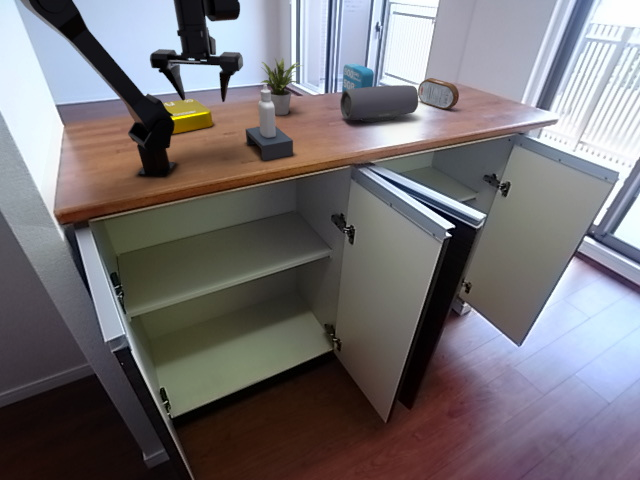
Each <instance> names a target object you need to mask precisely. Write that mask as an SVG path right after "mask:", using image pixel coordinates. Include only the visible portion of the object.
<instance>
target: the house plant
mask: <svg viewBox="0 0 640 480" xmlns="http://www.w3.org/2000/svg"><path fill="white" fill-rule="evenodd" d="M274 61H275V64H276V67H274V69H273V70H272V69H271V68H270V67H269V66H268V65H267V64H266V63H265V62H264V61H261V64H263V65H264V67H265V68H263V67H261V69H262V70H264V72H265V73H266V74H267V76H268V79H264V80H261V82H260V84H264V83H265V84H267V85H269V87H270V88H271V89H270V91H271V101H272V102H273V104H274V108H275V116H285V115H288V114H289V111H290V105H291V96H292V91H290V90H289V89H286V87H287V86H288V85H289V84H291V83H293V84H295V83H297V84H299V81H298V80H293V78H292V77H293V76H294V74H293V73H296V72H299V71H298V70H294V69H295V68H297V67H303V66H304V65H301V64H300V65H297V64H299V63H300V61H298V62H295V63H293V64H291V66H290V67H289V68H288V69H286V70H285V62H284V57H281V60H280V61H279V63H278V60H277V58H276V57H274ZM293 70H294V71H293ZM292 74H293V75H292ZM291 78H292V79H291Z"/></svg>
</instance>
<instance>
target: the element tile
mask: <svg viewBox="0 0 640 480" xmlns="http://www.w3.org/2000/svg"><path fill="white" fill-rule="evenodd" d="M162 103H163V104H164V106H165V108H166V109H167V111H168V112H170V113H171V114H173V116H170V117H171V118H172V119H173V121H174V123H175V126H174V131H173V134H172V135H176V134H182V133H187V132H192V131H197V130H201V129H207V128H211V127H212V126H213V125H214V124H213V123H214V122H213V115H212V110H211V109H210V108H208V107H207V106H205V105H204V104H202V103H201V102H199V100H197V99H195V98H185V100H184V101H183V100H182V99H179V100H172V101H165V102H162Z"/></svg>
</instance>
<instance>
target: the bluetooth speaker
mask: <svg viewBox="0 0 640 480" xmlns="http://www.w3.org/2000/svg"><path fill="white" fill-rule="evenodd" d="M339 104H340V111H341V115H342V117H343V118H344V119H345V120H361V121H362V122H364V123H373V122H383V121H391V120H394V117H399V116H404V115H410V114H414V113H415V112H416V110H417V109H418V106H419V96H418V89H417V87H416V86H414V85H408V84H402V85H401V84H400V85H399V84H398V85H397V84H395V85H376V86H373V87H364V88H356V89H349V90H345V91H343V94H342V93H341V97H340V102H339Z"/></svg>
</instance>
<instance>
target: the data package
mask: <svg viewBox="0 0 640 480" xmlns="http://www.w3.org/2000/svg"><path fill="white" fill-rule="evenodd" d="M342 71H343V72H342V85H341V87H342V88H341V95H342V94H343V91H345V90H349V89H356V88H364V87H374V79H375V73H374V70H373V69H372V68H369V67H366V66H365V65H361V64H359V63H358V62H357V63H356V62H355V63H347V64H344V66H343V70H342Z"/></svg>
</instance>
